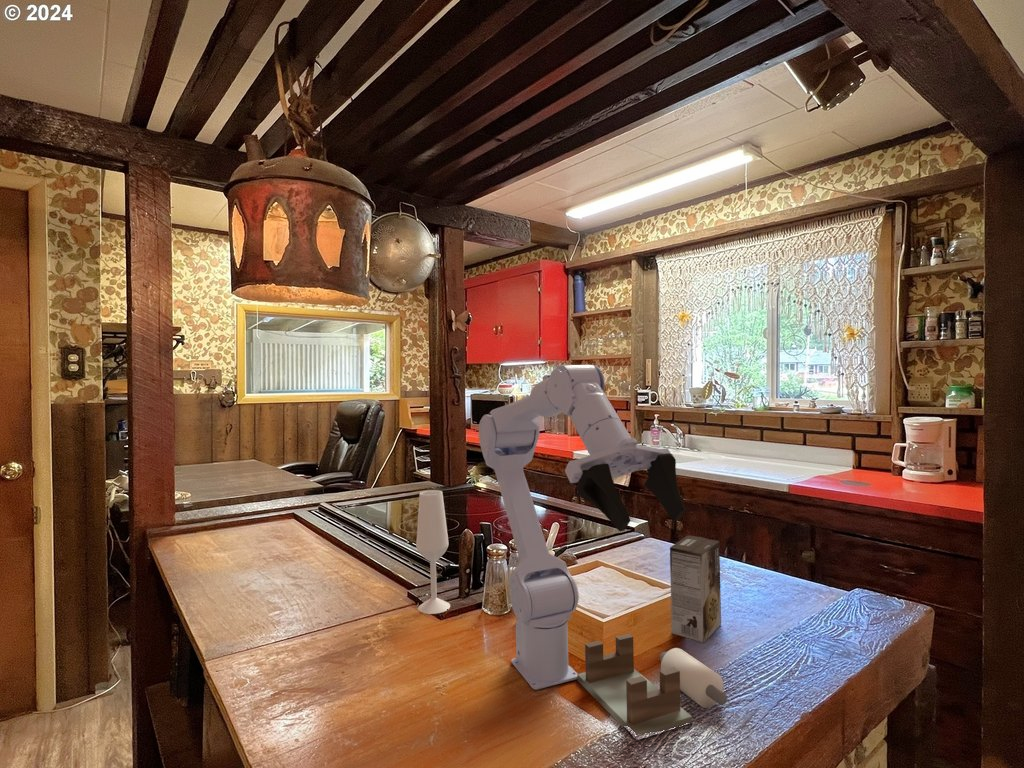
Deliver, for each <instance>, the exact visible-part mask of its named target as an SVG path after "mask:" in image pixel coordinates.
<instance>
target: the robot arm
mask: <svg viewBox="0 0 1024 768" xmlns="http://www.w3.org/2000/svg"><path fill="white" fill-rule="evenodd" d="M541 379H542V380H541V381H539V382H538V383H537V384H535V385H533V387H532V389H531V390H530V394H529V395H528V396H526V397H523V398H520V399H517V400H516V401H513V402H510V403H508V404H506V405H503V406H499V407H497V408H494V409H492V410H491V411H490V412H489V413H488V414H484V415H483V416H482V417H481V419H480V421H479V425H478V441H479V445H480V446H479V447H480V449H481V452H482V453H481V454H482V456H483V459H484V462H485V465H486V466H487V467H489V468H491V469H493V470H494V473H495V477H496V480H497V483H498V487H499V490H500V494H501V497H502V498H501V499H502V501H503V505H504V508H505V512H506V515H507V519H508V523H509V526H510V530H511V533H512V537H513V540H514V543H515V544H514V545H515V547H516V551H517V554H518V558H519V562H518V564H516V566H515V567H514V568H513V570H512V571H511V572H510V575H509V578H508V585H509V591H510V592H509V593H510V603H511V609H512V611H513V613H514V615H515V617H516V622H515V646H516V647H515V651H516V653H515V654H516V655H515V657H514V658H512V659H510V660H511V664H512V665H513V666H514V668H515V669H516V670H517V671H518V672H519V673H520V675H521V677H523V679H524V680H525V681H526V682H527V683H528V684H529V686H530V687H531V688H532V690H536V691H537V690H541V689H544V688H549V687H552V686H556V685H561V684H564V683H567V682H570V681H575V680H577V674H578V672H576V671H575V670H574V668H573V667H572V666H570V665H569V638H568V637H569V633H568V632H569V631H568V630H569V629H568V628H569V627H568V620H571V619H572V613H573V612H574V611H576V610H577V607H578V603H579V600H580V599H579V598H580V595H579V589H578V586H577V583H576V581H575V579H574V577H573V576H572V575H571V573H570V571H569V568H568V567H567V563H566V561H564V560H562V559H561V558H559V557H557V556H556V555H553V554H552V553H550V552H549V549H548V546H547V545H548V544H547V543H546V539H545V536H544V533H543V530H542V526H541V523H540V520H539V517H538V514H537V511H536V507H535V504H534V501H533V497H532V494H531V491H530V488H529V484H528V481H527V478H526V475H525V472H524V467H526V465H528V464H530V462H532V461H533V458H534V455H535V454H534V453H535V450H536V448H537V443H538V440H539V438H540V422H539V418H538V417H543V418H552V417H555V416H559V415H560V414H563V415H564V416H568V417H569V419H570V420H571V422H572V424H573V426H574V429H575V430H576V432H577V434H578V436H579V437H580V440H581V441H582V443H583V445H584V447H585V449H586V451H587V452H588V454H589V455H588V456H584V457H581V458H577V459H574V460H569V461H568V463H567V465H566V467H565V470H564V472H565V475H566V477H567V478H568V481H569V483H570V484H574V483H578V485H577V488H576V491H577V493H578V496H579V497H580V498H582V499H583V500H586V501H587V502H588V503H590V504H592V505H593V506H594V507H596V508H597V509H598V510H599V511H600V512H601V513H602V514H603V515H604V516H605V517H606V519H608V520H609V521H610V523H611V524H613V525H614V527H615V528H616V529H617V530H618V532H625V530H626V528H627V527H628V525H629V524H630V522H631V519H630V515H629V513H628V510H627V509H626V506H625V504H624V503H623V500H622V499H621V497H620V495H619V492H618V490H617V488H616V485H615V483H614V479H618V478H620V477H623V476H625V475H629V474H631V473H634V472H637V471H642V470H643V471H644V470H646V471H647V472H646V475H647V478H646V480H645V481H644V483H643V486H644V487H645V488H647V489H648V490H649V491H650V492H651V493H652V494H653V495H654V496H655V498H656V499H657V500H658V501H659V503H660V504H661V506H662V507H663V510H665V512H666V513H667V515H668V517H670V519H671V520H672V521H673V522H678V521H679V520H680V519H681V518H682V517H683V515H684V514H685V513H686V508H685V506H684V503H683V500H682V496H681V493H680V490H679V486H678V480H677V467H676V466H677V465H676V464H677V463H676V462H677V461H676V458H675V456H674V455H673V454H672V453H671V451H670V450H669V448H659V447H657V448H656V447H652V446H648V445H647V446H646V445H642V444H638V440H636V438H635V437H632V436H631V434H630V433H629V431H628V430H627V428H626V426H625V425H624V424H623V422H622V420H621V419H620V416H619V415H618V413H617V411H616V410H615V409H614V407H613V405H612V403H611V402H610V400H609V399H608V397H607V395H606V394H605V383H606V382H605V377H604V373H603V371H602V370H601V368H600V367H599V366H598V365H594V364H566V365H565V364H563V365H562V364H561V365H558V366H557V367H555V368H554V369H553V370H551V372H550V373H549V374H545V375H543V376H542V378H541Z"/></svg>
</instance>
